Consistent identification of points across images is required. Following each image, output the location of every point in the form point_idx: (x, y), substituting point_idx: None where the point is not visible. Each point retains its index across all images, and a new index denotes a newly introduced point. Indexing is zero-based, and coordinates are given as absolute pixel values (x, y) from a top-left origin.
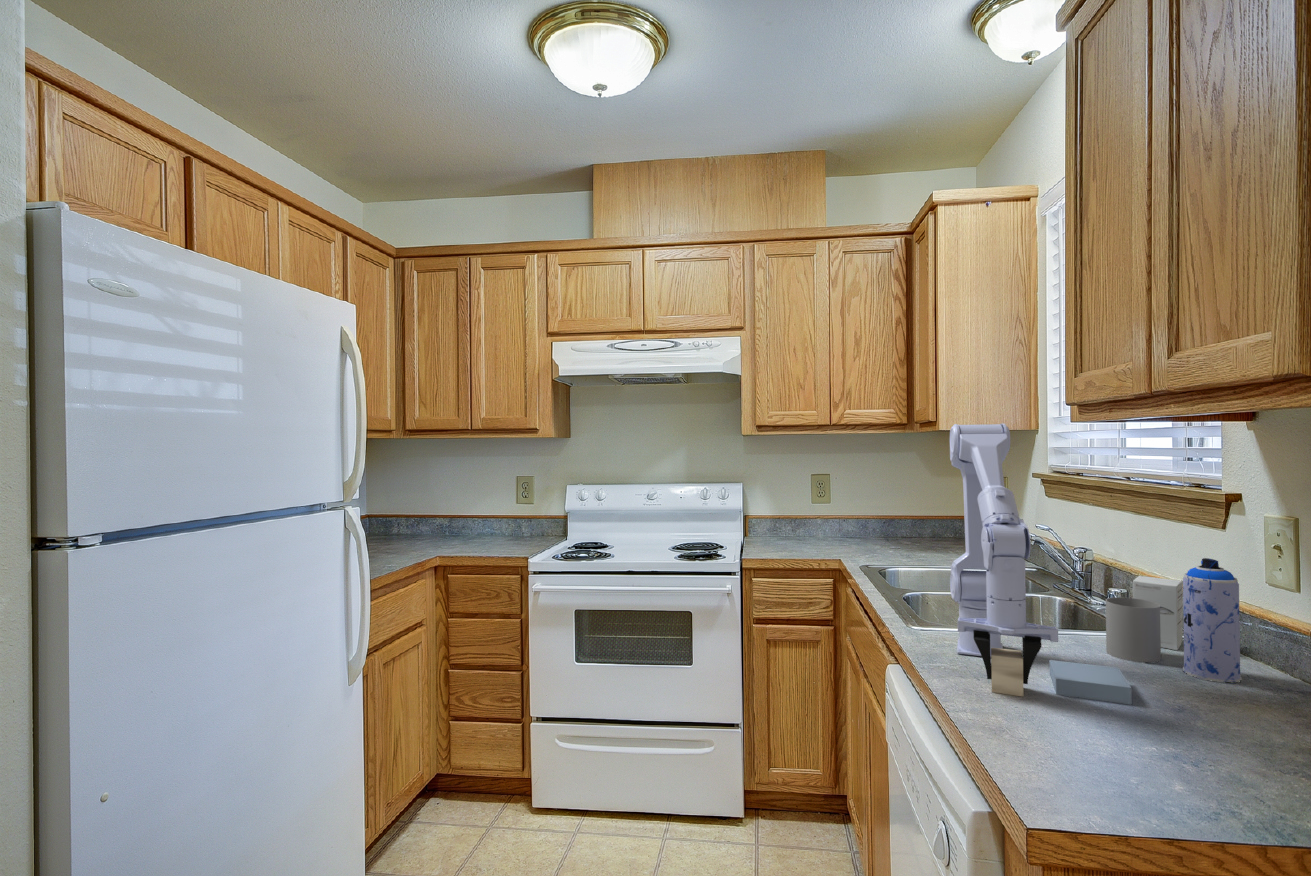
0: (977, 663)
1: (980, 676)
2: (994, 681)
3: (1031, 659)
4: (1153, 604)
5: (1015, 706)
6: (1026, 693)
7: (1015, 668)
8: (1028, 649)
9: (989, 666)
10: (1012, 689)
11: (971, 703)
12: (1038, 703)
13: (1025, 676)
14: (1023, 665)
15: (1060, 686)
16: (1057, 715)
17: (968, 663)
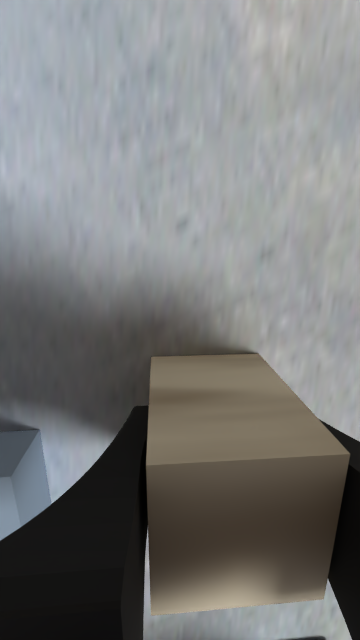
0: None
1: None
2: (264, 371)
3: (89, 483)
4: None
5: (183, 231)
6: (139, 394)
7: (188, 416)
8: (89, 538)
9: None
10: (190, 364)
11: (347, 189)
12: (99, 306)
13: (138, 419)
14: (144, 473)
15: (9, 452)
16: (26, 195)
17: None
